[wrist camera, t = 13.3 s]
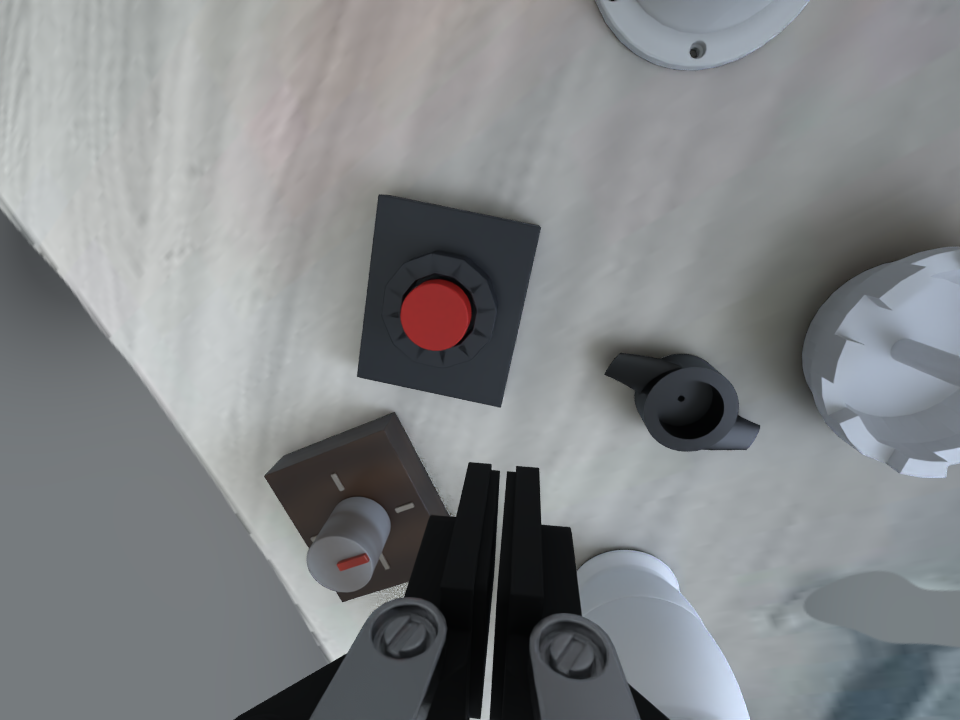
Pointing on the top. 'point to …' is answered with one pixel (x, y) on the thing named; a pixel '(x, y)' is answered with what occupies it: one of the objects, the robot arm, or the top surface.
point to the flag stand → (893, 362)
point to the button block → (463, 261)
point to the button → (436, 314)
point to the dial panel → (362, 491)
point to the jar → (659, 637)
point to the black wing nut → (684, 402)
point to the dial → (349, 545)
